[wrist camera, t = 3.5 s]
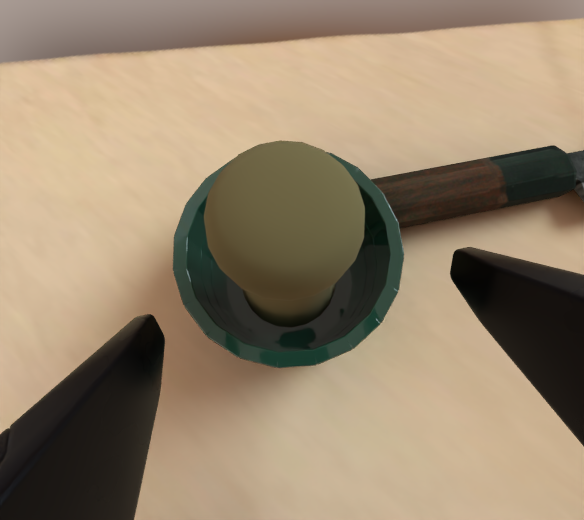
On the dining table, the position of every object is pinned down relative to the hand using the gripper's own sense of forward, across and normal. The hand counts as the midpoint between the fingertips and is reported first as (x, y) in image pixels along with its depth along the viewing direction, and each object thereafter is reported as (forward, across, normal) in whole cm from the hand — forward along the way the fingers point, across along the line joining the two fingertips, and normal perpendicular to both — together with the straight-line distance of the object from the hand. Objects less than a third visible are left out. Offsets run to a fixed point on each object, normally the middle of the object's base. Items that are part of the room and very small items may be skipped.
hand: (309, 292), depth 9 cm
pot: (+10, 0, +5) cm, 11 cm away
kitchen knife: (+11, -20, +4) cm, 23 cm away
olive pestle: (+9, 0, +6) cm, 10 cm away
